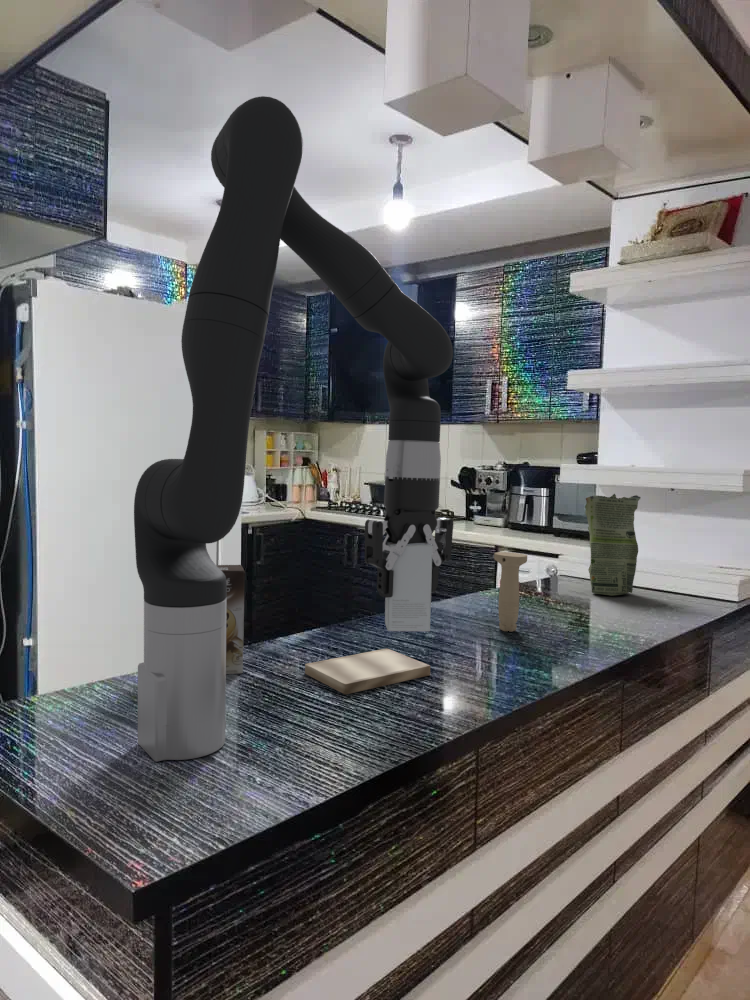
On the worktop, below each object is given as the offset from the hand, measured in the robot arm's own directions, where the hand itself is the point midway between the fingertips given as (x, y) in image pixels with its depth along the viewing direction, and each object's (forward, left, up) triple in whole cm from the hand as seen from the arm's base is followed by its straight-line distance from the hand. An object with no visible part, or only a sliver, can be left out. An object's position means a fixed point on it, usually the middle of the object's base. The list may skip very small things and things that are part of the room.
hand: (407, 593), depth 98 cm
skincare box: (0, 0, -5) cm, 5 cm away
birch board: (+2, +12, -15) cm, 19 cm away
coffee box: (-17, +27, -15) cm, 35 cm away
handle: (+41, +19, -15) cm, 48 cm away
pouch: (+91, +31, -15) cm, 98 cm away
